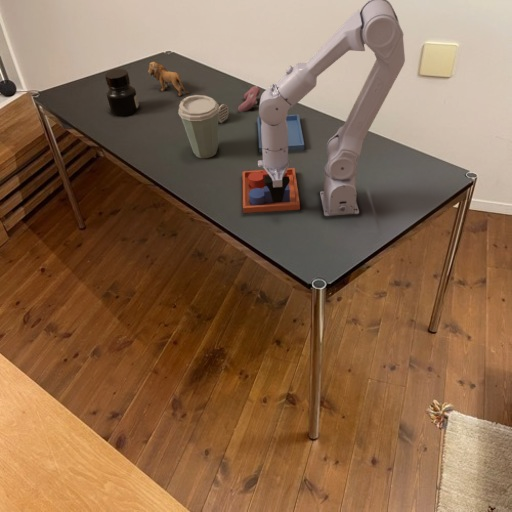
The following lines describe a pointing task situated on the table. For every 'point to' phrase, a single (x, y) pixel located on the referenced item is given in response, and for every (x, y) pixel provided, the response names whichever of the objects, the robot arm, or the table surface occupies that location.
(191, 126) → the disposable coffee cup
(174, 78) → the lion figurine
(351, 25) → the robot arm
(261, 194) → the blue round-ended block
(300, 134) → the blue tray
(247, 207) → the terracotta tray
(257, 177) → the red round-ended block
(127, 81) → the ink bottle
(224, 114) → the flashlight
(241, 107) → the pink shoe
